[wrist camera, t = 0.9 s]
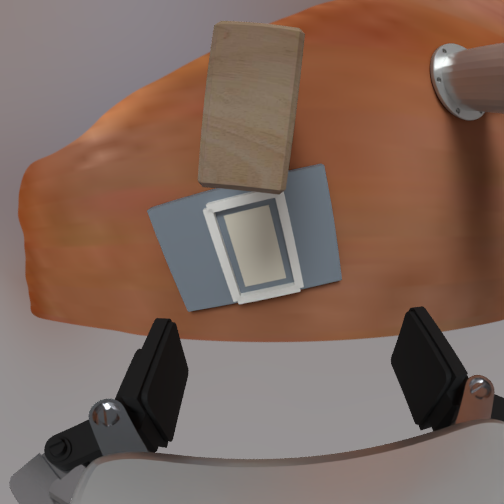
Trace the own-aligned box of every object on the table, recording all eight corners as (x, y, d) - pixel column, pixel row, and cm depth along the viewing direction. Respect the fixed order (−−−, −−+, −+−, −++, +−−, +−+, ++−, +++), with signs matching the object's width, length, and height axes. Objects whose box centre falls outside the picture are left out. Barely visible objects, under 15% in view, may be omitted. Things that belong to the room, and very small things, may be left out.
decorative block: (270, 160, 36) (285, 198, 17) (226, 155, 35) (192, 187, 17) (282, 78, 31) (309, 28, 13) (237, 73, 31) (214, 17, 13)
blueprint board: (321, 163, 35) (325, 166, 33) (339, 274, 42) (343, 283, 40) (150, 207, 38) (144, 212, 36) (190, 306, 45) (187, 315, 43)
